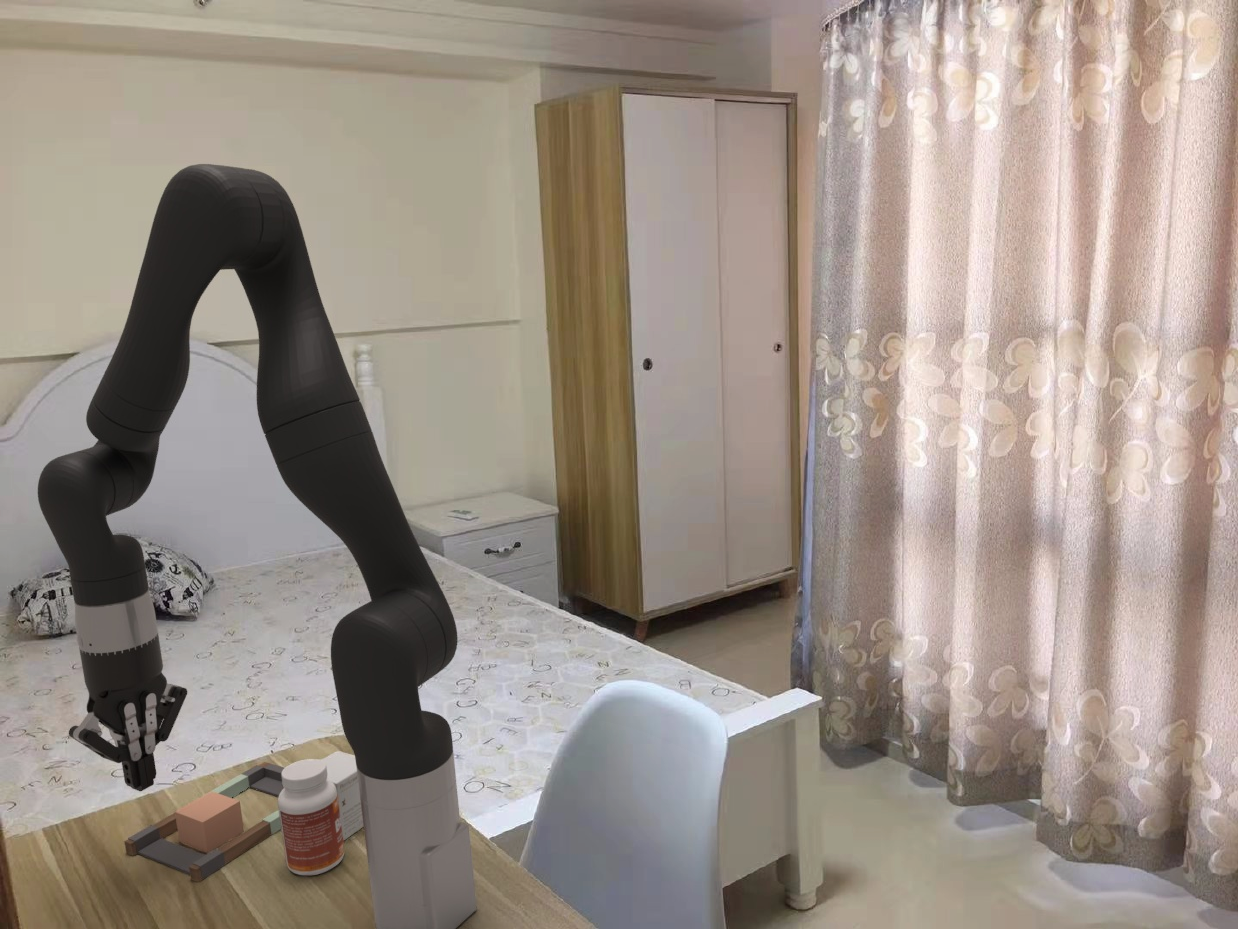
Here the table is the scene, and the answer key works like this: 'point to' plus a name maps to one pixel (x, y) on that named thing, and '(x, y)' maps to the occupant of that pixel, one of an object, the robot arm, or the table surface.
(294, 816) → the pill bottle
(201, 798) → the terracotta block
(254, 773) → the frame
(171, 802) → the table surface
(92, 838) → the table surface
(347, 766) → the product box
